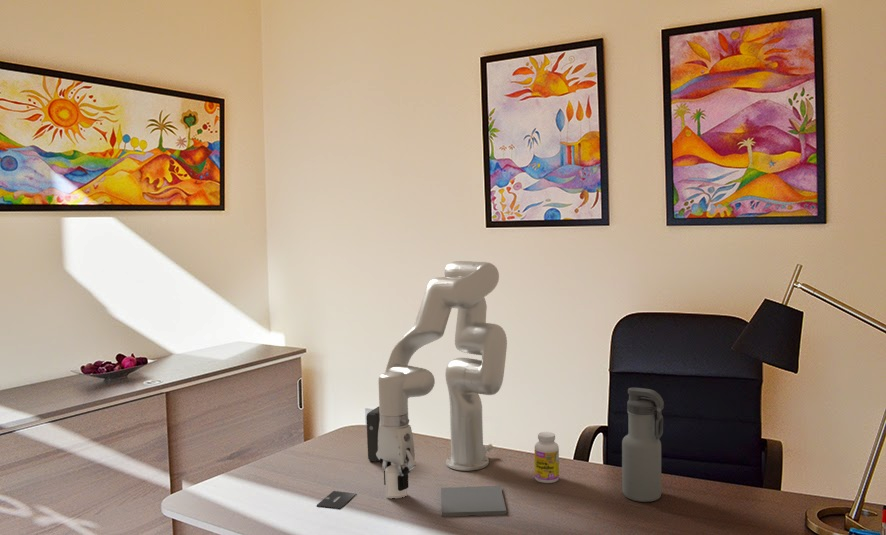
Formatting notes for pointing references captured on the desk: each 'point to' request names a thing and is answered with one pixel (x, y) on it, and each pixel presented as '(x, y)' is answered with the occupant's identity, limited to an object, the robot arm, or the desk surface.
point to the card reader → (373, 433)
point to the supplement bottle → (546, 458)
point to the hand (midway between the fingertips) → (396, 485)
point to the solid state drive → (336, 500)
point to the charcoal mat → (472, 501)
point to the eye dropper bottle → (393, 482)
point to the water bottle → (642, 446)
